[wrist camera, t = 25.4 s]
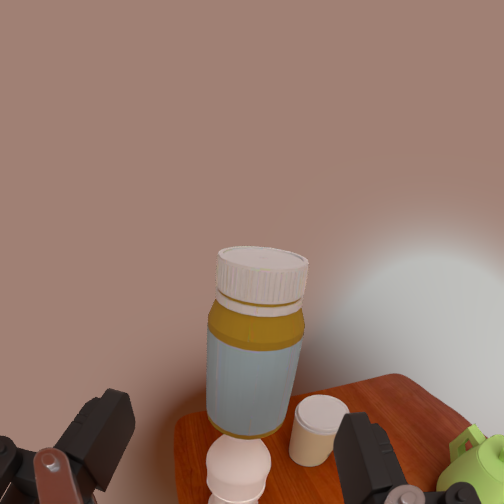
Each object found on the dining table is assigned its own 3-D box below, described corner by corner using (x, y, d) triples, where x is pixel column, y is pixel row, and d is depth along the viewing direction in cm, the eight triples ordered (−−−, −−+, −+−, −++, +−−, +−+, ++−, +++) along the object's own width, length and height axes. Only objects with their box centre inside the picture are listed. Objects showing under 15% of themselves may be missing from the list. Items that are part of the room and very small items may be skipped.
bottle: (298, 414, 23) (331, 260, 19) (250, 456, 17) (276, 279, 14) (242, 383, 27) (255, 241, 24) (190, 413, 22) (189, 251, 18)
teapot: (500, 468, 23) (538, 420, 20) (491, 540, 8) (547, 495, 4) (435, 457, 34) (470, 407, 31) (411, 533, 19) (462, 492, 15)
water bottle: (258, 497, 31) (284, 396, 25) (252, 531, 24) (280, 448, 18) (214, 490, 32) (214, 385, 26) (204, 523, 25) (194, 434, 19)
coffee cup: (334, 470, 36) (355, 431, 34) (282, 468, 37) (295, 429, 35) (330, 435, 45) (347, 394, 43) (285, 433, 46) (296, 391, 44)
